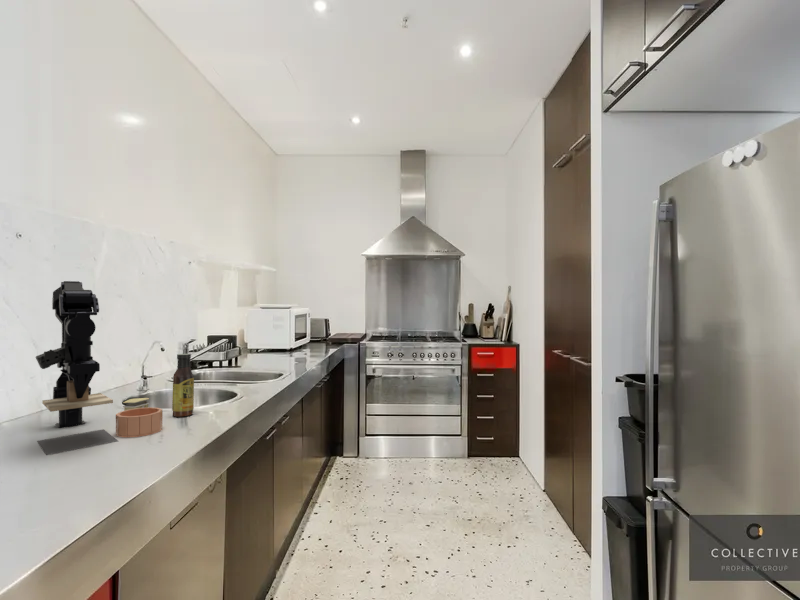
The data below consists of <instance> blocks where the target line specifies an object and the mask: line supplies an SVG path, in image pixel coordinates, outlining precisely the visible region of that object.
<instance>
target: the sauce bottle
mask: <svg viewBox="0 0 800 600" xmlns="http://www.w3.org/2000/svg"><path fill="white" fill-rule="evenodd" d="M176 355H177V356H176V359H177V368H176V370H175V372H174V373H173V377H172V378H173V379H172V401H171V402H172V405H171V406H172V408H171V410H172V416H173V417H177V418H181V417H188V416H191V415H193V413H194V409H195V408H194V404H195V403H194V402H195V400H194V398H195V397H194V396H195V377H194V374H193V371H192V368H191V358H192V354H191V353H178V354H176Z"/></svg>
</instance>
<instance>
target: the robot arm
mask: <svg viewBox="0 0 800 600" xmlns="http://www.w3.org/2000/svg"><path fill="white" fill-rule="evenodd" d="M51 303H52V304H51V305H52V310H54V315H55V317H56V319H57V320H58V322H59V323H60V324H61V343H60V347H59V348H55V349H49V350H47V351H44V352H43V353H41V354H38V355H36V356H35V360H36V362H37V363H38V365H39V367H40V369H41V370H45V369H48V368H50V367H51V366H54V365H56V364H57V365H56V367H57V368H58V369H60V370H59V371H60V372H61V373H60V376H59V377H58V378H57V379H56V381H55V386H53V390H52V399H58V398H66V397H67V381H73V383H74V388H75V392H76V397H77V398H82V397H83V395H84V393H85V391H86V389H87V387H88V385H89V395H90V394H91V392H92V388H91V387H90V384H91V381H92V380H93V377H94V375H95V374H96V372H100V370H101V369H100V363H99V362H98V361H97V360H95V359H94V356H93V355H92V346H93V343H94V341H93V340H92V336H93V335H94V334H95V332H96V328H97V327H96V324H95V322H94V320H92V319H91V316H98V313H100V305H99V299H98V298H97V295H96V294H95V293H93V291H92V290H91V289H84V288H83V282H82V281H81V282H80V281H78V280H76V281H71V280H68V281H66V280H65V281H61V282H60V286H59V287H58V288H56V289H55V290H53V291H52V301H51ZM61 368H62V369H61ZM81 425H87V423H86V422H85V421H84V420H83V407H80V408H73V409H66V410H59V411H58V422H55V427H57V428H58V429H63V428H64V429H65V428H70V427H71V428H72V427H77V426H81Z"/></svg>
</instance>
